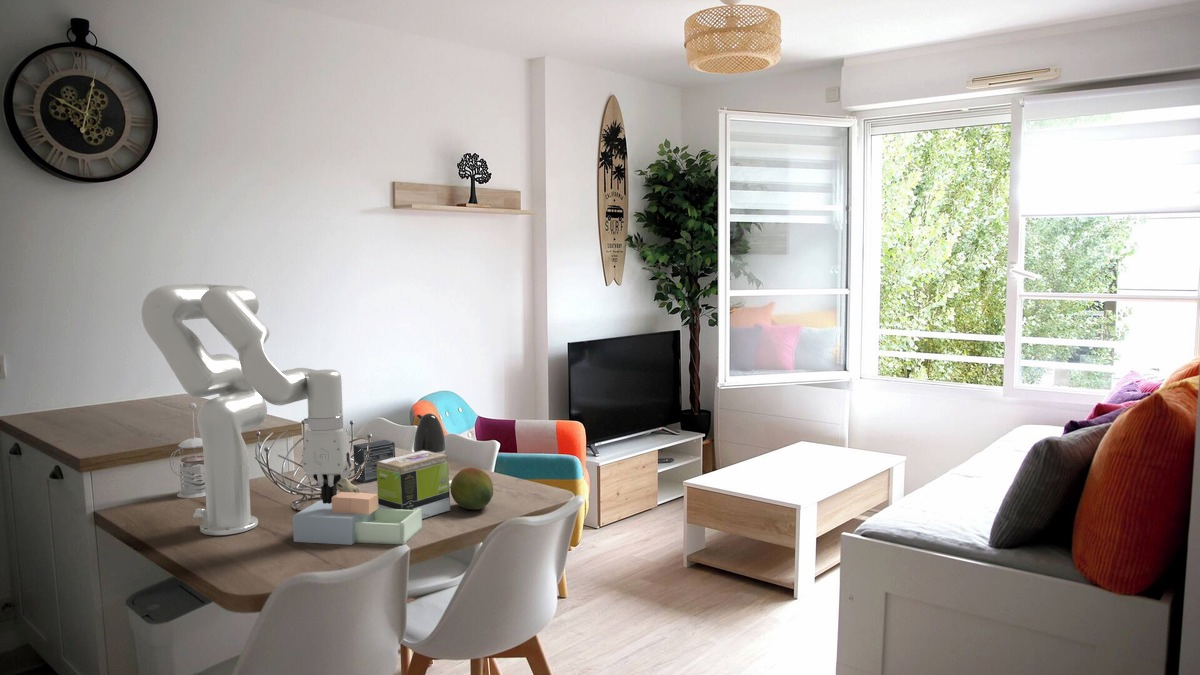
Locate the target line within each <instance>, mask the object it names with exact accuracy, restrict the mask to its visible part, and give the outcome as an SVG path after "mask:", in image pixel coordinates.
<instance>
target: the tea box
mask: <svg viewBox="0 0 1200 675" xmlns="http://www.w3.org/2000/svg"><path fill="white" fill-rule="evenodd" d="M448 455H449V454H445V453H444V454H439V453H434V452H429V451H425V450H422V451H418V452H415V451H414V452H411V453H406V454H401V455H398V456H395V457H393V458H389V459H385V460H381V461H377V481H376V483H377V494H378V508H381V509H403V510H417V509H418V508H422V520H423V519H427V518H429V517H432V516H436V515H440V514H442V513H445V512H448V511H451V497H450V496H451V495H450V494H451V490H450V488H449V481H450V474H449V456H448Z"/></svg>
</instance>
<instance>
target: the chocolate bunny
mask: <svg viewBox="0 0 1200 675" xmlns="http://www.w3.org/2000/svg"><path fill="white" fill-rule="evenodd" d="M336 487H337V490H338V491H339V493H340V492H355V493H362V491H361V489H360V488H359V486H357V485H354V484H352V482H351V481H350V480H349V479H348V478H344V479H341V480H340V481H339V482H338V483H337V484H336Z"/></svg>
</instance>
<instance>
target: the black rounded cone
mask: <svg viewBox="0 0 1200 675" xmlns="http://www.w3.org/2000/svg"><path fill="white" fill-rule="evenodd" d="M416 418H417V419H418V423H417V426H416V430H415V433H414V438H413V447H412V450H413V451H414V452H418V451H422V450H425V451H429V452H434V453H439V454H445V452H446V449H447V443H446V438H445V437H446V436H445V434H444V429H443V427H442V424H441V422H440V420H439V418H438V417H437V416H436V415H435V414H433V413H424V414H423V415H420V414H417V415H416Z"/></svg>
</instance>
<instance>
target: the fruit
mask: <svg viewBox="0 0 1200 675" xmlns="http://www.w3.org/2000/svg"><path fill="white" fill-rule="evenodd" d="M451 480H452V482H451V487H450V494H451V495H450V496H451V497H452V499H453V500H454V502H455V504H457V505H458V506H460V507H462V508H465V509H467V510H481V509H483V508H485V507H486V506H487V505H488V504H489V503H490V502H491V500H492V498H493V497H494V487H493V486H494V485H493V482H492V479H491V477H490V475H489V474H488V473H486V471H484V470H483V469H480V468H476V467H466V468H463V469H461V470H459V471H458V472H457V473H456V474H455V475H454V477H453V478H452V479H451Z"/></svg>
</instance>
